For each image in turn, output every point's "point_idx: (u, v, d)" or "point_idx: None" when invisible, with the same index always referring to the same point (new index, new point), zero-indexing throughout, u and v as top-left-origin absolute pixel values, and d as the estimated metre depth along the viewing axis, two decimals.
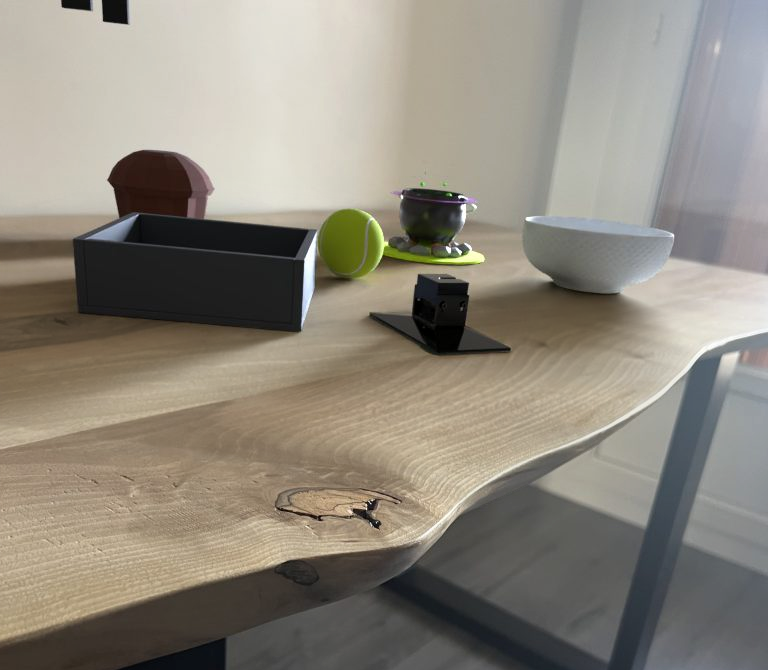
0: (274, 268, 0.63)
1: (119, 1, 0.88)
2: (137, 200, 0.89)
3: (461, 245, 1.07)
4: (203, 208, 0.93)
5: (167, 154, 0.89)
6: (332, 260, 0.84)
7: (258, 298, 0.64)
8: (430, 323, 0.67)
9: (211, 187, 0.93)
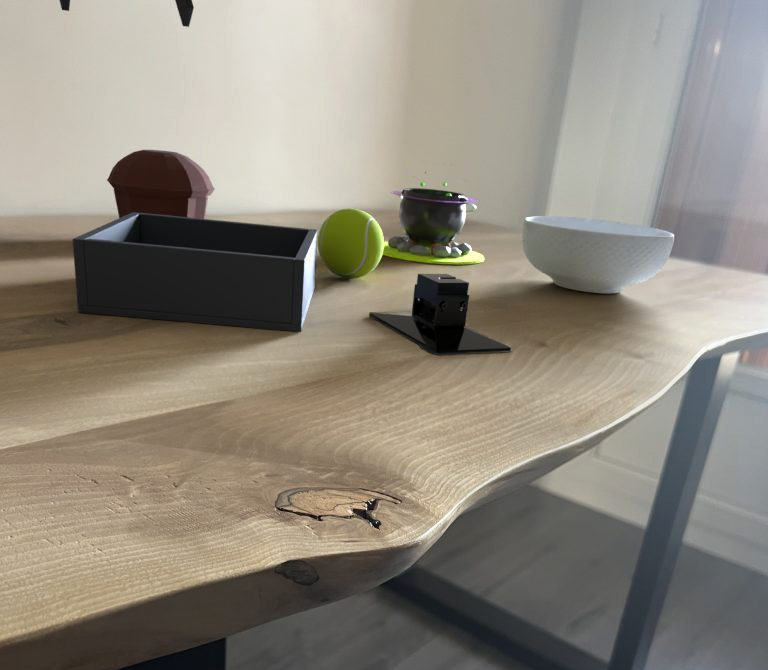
0: (274, 268, 0.63)
1: None
2: (137, 200, 0.89)
3: (461, 245, 1.07)
4: (203, 208, 0.93)
5: (167, 154, 0.89)
6: (332, 260, 0.84)
7: (258, 298, 0.64)
8: (430, 323, 0.67)
9: (211, 187, 0.93)
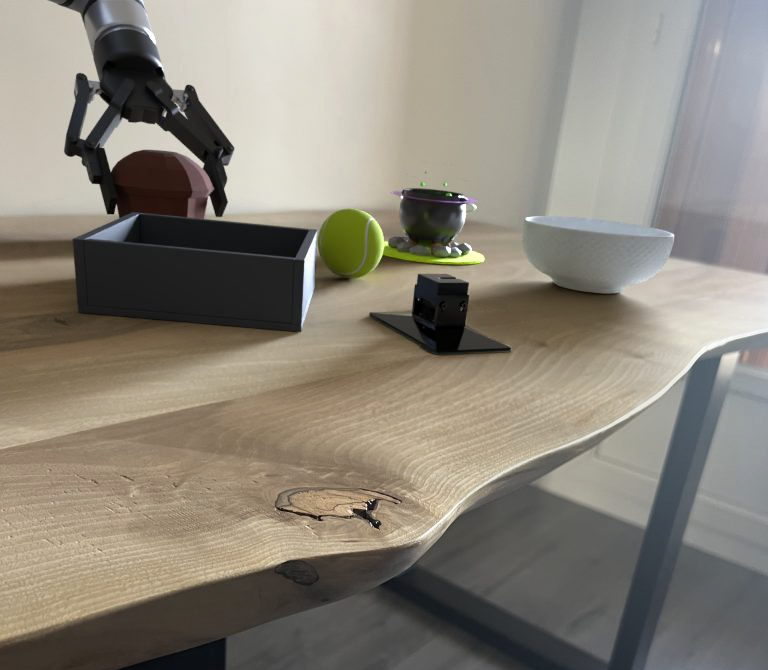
0: (274, 268, 0.63)
1: None
2: (137, 200, 0.89)
3: (461, 245, 1.07)
4: (203, 208, 0.93)
5: (167, 154, 0.89)
6: (332, 260, 0.84)
7: (258, 298, 0.64)
8: (430, 323, 0.67)
9: (211, 187, 0.93)
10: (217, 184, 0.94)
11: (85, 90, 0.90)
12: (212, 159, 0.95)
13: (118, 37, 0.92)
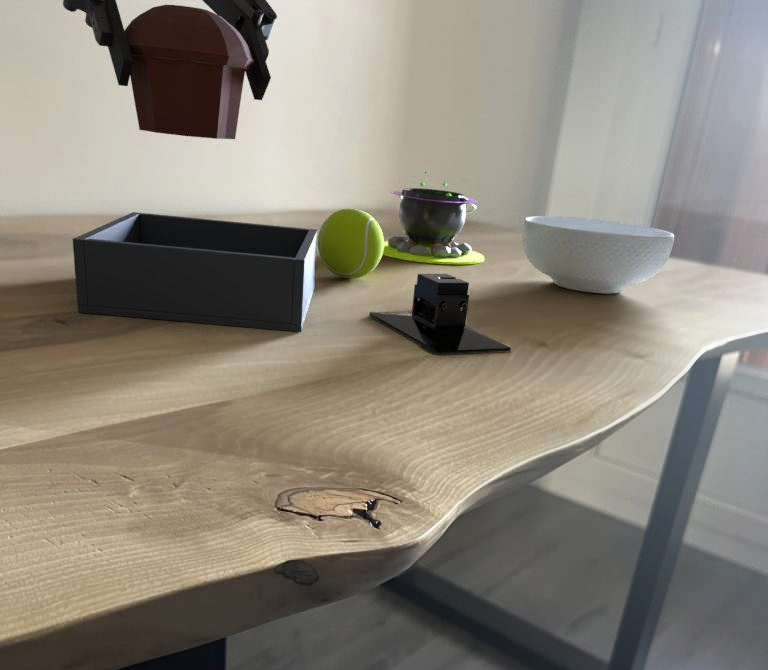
0: (274, 268, 0.63)
1: None
2: (158, 66, 0.69)
3: (461, 245, 1.07)
4: (240, 84, 0.73)
5: (196, 9, 0.70)
6: (332, 260, 0.84)
7: (258, 298, 0.64)
8: (430, 323, 0.67)
9: (250, 57, 0.73)
10: (257, 55, 0.74)
11: None
12: (250, 25, 0.75)
13: None
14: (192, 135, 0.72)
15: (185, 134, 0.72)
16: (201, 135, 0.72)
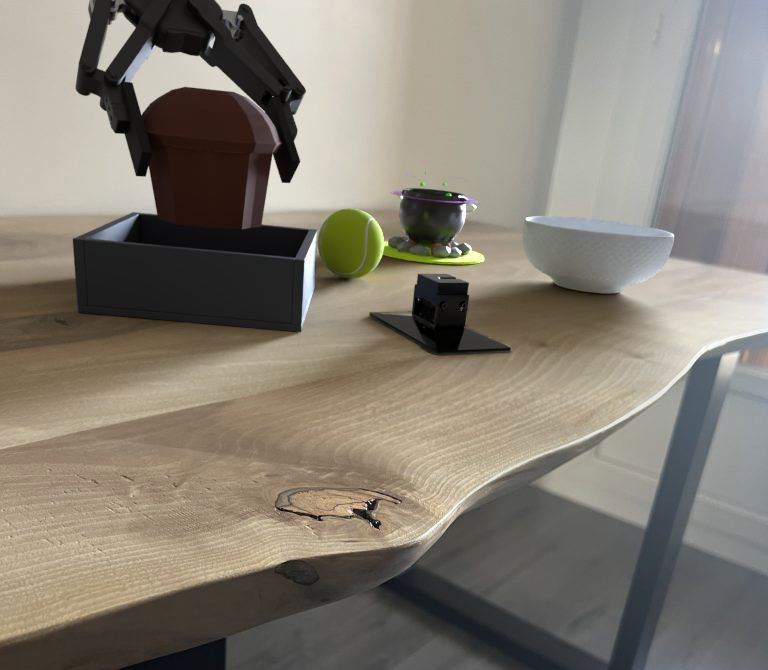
0: (274, 268, 0.63)
1: None
2: (178, 156, 0.63)
3: (461, 245, 1.07)
4: (267, 169, 0.67)
5: (220, 92, 0.64)
6: (332, 260, 0.84)
7: (258, 298, 0.64)
8: (430, 323, 0.67)
9: (278, 140, 0.67)
10: (285, 137, 0.68)
11: (105, 3, 0.65)
12: (277, 103, 0.69)
13: None
14: (215, 227, 0.66)
15: (208, 226, 0.66)
16: (225, 226, 0.66)
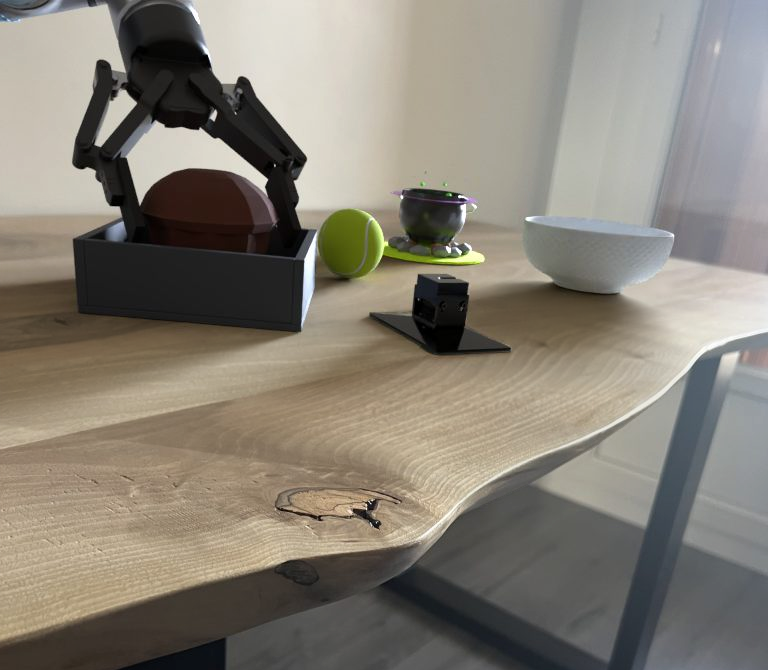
0: (274, 268, 0.63)
1: None
2: (180, 237, 0.66)
3: (461, 245, 1.07)
4: (265, 246, 0.70)
5: (220, 175, 0.66)
6: (332, 260, 0.84)
7: (258, 298, 0.64)
8: (430, 323, 0.67)
9: (276, 218, 0.70)
10: (287, 206, 0.71)
11: (107, 82, 0.67)
12: (280, 173, 0.72)
13: (153, 14, 0.69)
14: None
15: None
16: None
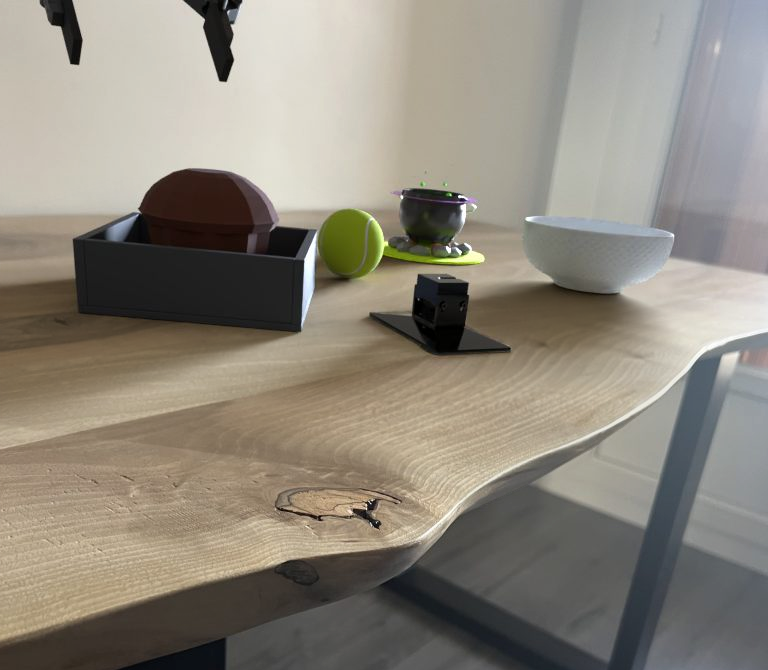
0: (274, 268, 0.63)
1: None
2: (180, 237, 0.66)
3: (461, 245, 1.07)
4: (265, 246, 0.70)
5: (220, 175, 0.66)
6: (332, 260, 0.84)
7: (258, 298, 0.64)
8: (430, 323, 0.67)
9: (276, 218, 0.70)
10: (221, 38, 0.76)
11: None
12: (215, 9, 0.77)
13: None
14: None
15: None
16: None
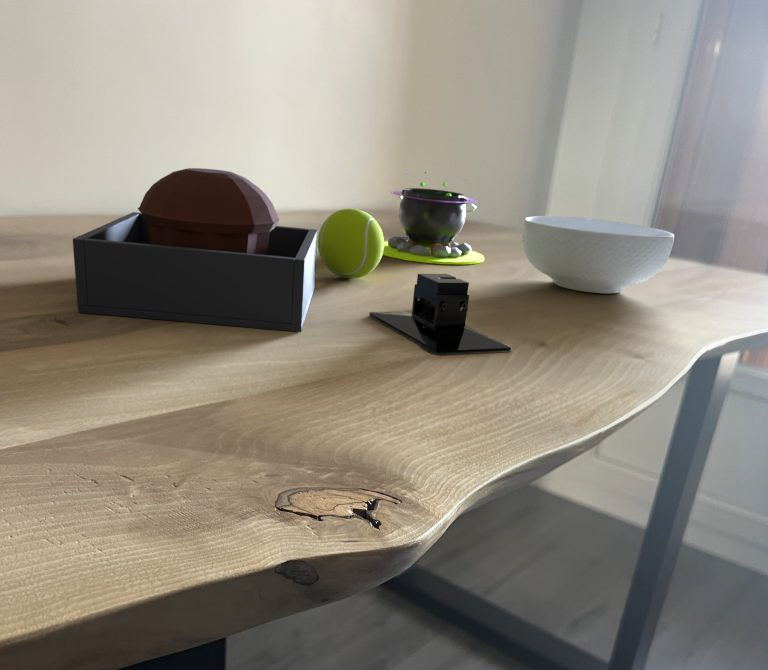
0: (274, 268, 0.63)
1: None
2: (180, 237, 0.66)
3: (461, 245, 1.07)
4: (265, 246, 0.70)
5: (220, 175, 0.66)
6: (332, 260, 0.84)
7: (258, 298, 0.64)
8: (430, 323, 0.67)
9: (276, 218, 0.70)
10: None
11: None
12: None
13: None
14: None
15: None
16: None
